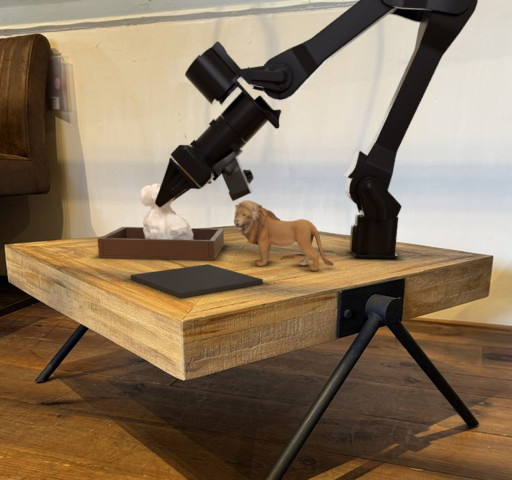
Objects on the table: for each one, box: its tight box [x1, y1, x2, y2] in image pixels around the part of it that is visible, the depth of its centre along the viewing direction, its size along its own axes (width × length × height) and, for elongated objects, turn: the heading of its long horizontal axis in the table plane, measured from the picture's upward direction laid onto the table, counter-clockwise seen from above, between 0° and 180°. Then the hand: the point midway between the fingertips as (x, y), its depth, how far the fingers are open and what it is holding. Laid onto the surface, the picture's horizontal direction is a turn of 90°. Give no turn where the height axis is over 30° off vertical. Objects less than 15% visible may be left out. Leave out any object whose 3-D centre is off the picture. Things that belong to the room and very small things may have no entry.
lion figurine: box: [233, 200, 334, 271], centre depth 81 cm, size 15×5×9 cm, turn 74°
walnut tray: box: [97, 226, 225, 261], centre depth 92 cm, size 18×14×3 cm
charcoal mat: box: [130, 263, 264, 299], centre depth 72 cm, size 12×12×1 cm
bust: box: [139, 182, 193, 240], centre depth 91 cm, size 12×8×11 cm
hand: (163, 202), depth 90 cm, fingers open, 9 cm apart
